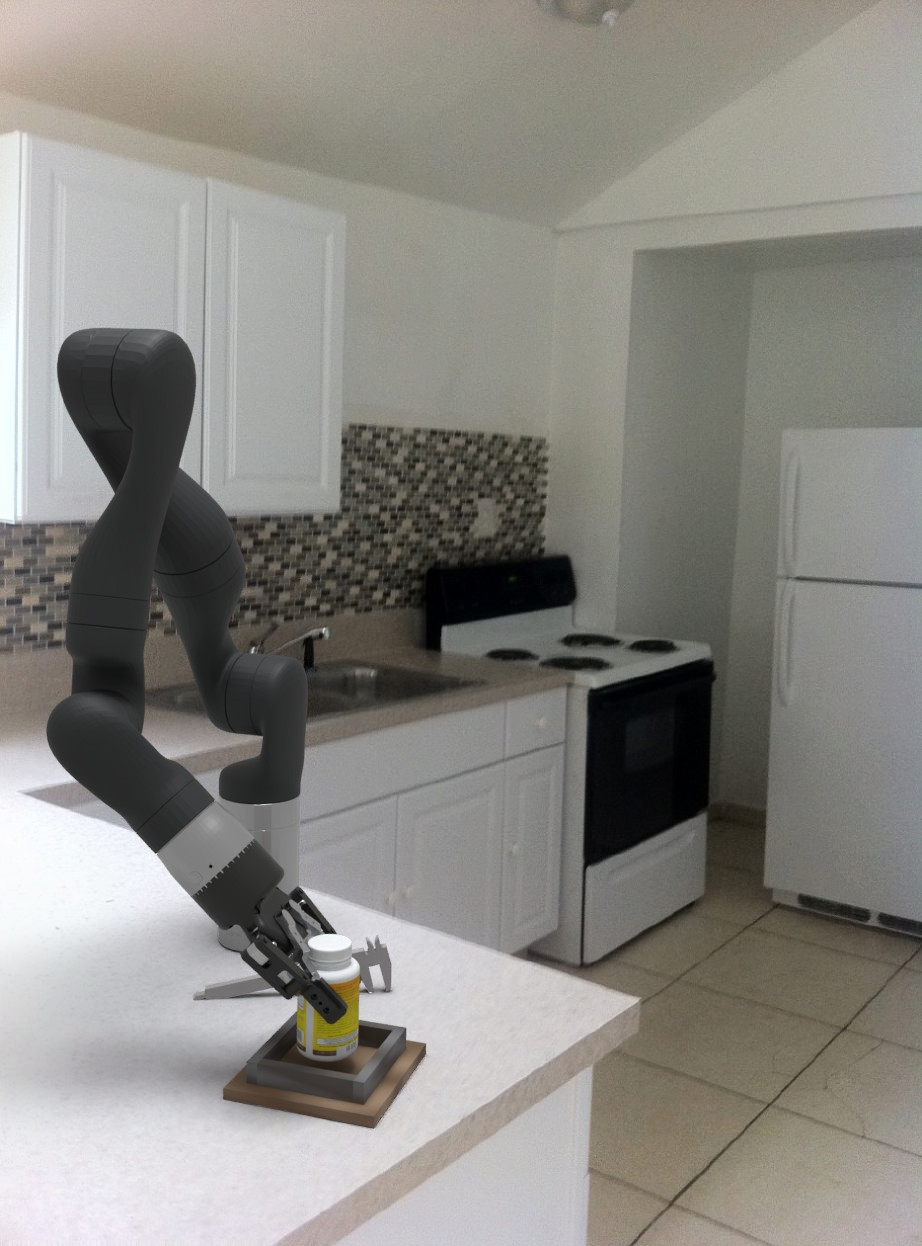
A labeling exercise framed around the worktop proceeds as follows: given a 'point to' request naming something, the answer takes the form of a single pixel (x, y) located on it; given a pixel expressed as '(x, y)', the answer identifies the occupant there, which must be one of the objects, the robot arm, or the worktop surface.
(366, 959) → the caliper
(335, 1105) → the collar base
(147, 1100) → the worktop surface
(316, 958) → the supplement bottle
